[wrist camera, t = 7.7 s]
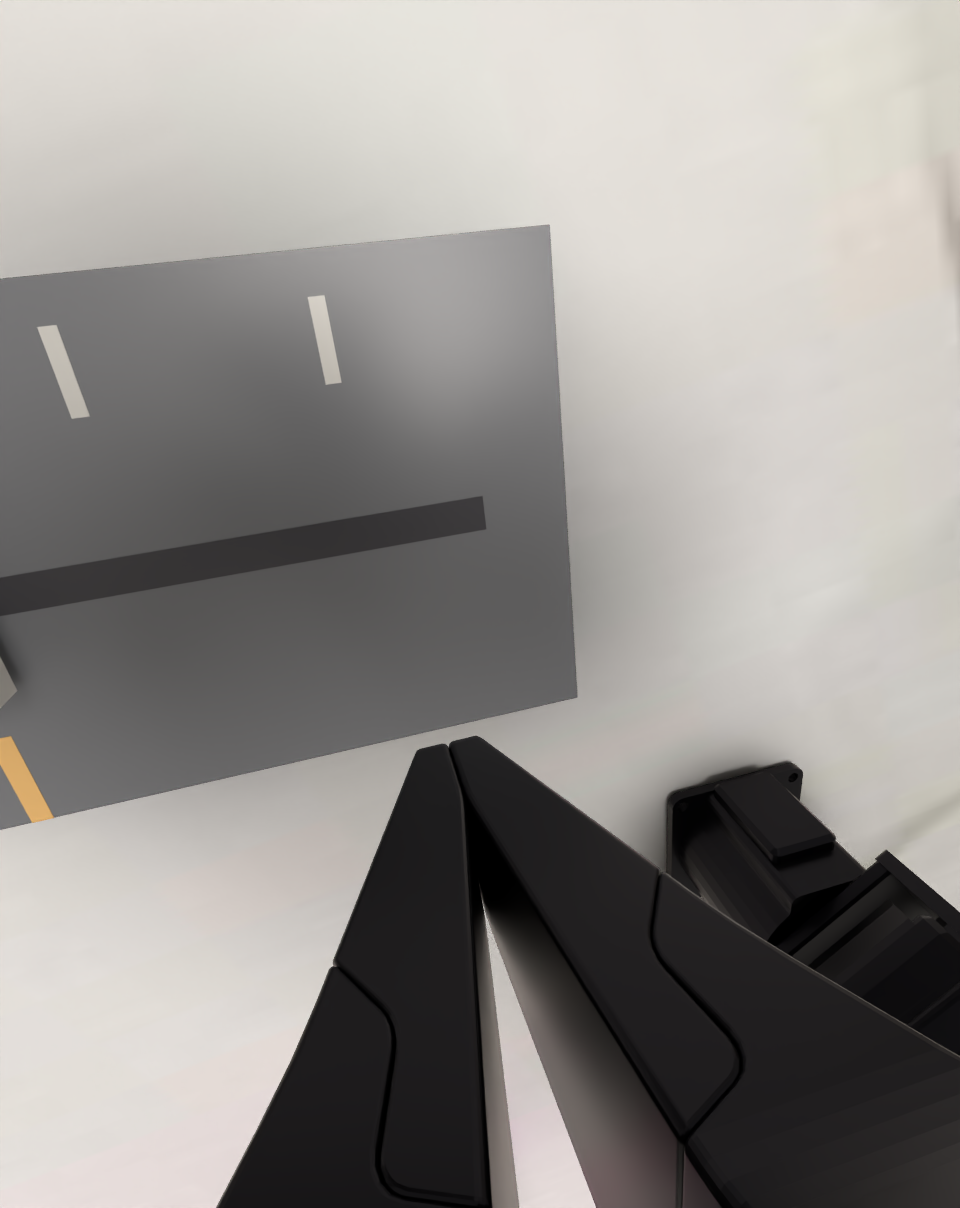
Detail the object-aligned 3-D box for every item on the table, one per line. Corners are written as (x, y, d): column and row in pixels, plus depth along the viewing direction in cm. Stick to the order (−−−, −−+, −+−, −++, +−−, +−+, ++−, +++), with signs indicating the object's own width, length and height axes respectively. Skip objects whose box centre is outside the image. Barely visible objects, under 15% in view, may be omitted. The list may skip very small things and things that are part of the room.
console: (553, 663, 23) (577, 697, 21) (-160, 819, 19) (-226, 882, 17) (521, 241, 17) (549, 224, 15) (-500, 346, 13) (-668, 344, 11)
